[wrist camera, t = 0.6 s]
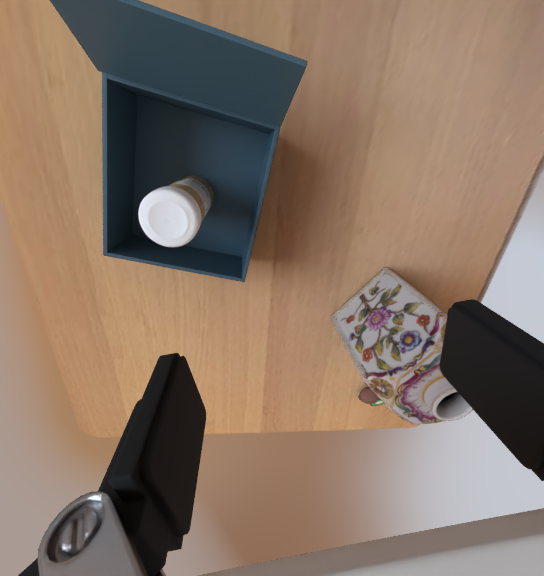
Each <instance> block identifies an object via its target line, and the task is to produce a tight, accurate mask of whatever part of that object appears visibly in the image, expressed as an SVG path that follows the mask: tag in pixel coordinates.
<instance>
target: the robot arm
mask: <svg viewBox="0 0 544 576" xmlns="http://www.w3.org/2000/svg"><path fill="white" fill-rule="evenodd" d="M440 371H441V373H442V375H443V376H444V377H445V378H446V379H447V380H448V382H449V383H450V384H451V385H452V386H453V387H454V388H455V389H456V391H457V392H458V393H459V394H460V395H461V396H462V397H463V398H464V400H465V401H466V402H467V403H468V404H469V405H470V406H471V407H472V409H473V410H474V411H475V412H476V413H477V414H478V415H479V416H480V418H481V419H482V420H483V421H484V422H485V423H486V424H487V425H488V427H489V428H490V429H491V430H492V431H493V432H494V433H495V434H496V436H497V437H498V438H499V439H500V440H501V441H502V442H503V443H504V445H505V446H506V447H507V448H508V449H509V450H510V451H511V453H513V455H514V456H515V457H516V458H517V459H518V460H519V461H520V463H521V464H522V465H523V466H525V467H526V468H528V469H532V471H533V472H534V473H535V474H536V475H537V476H538V477H539V478H540V479H541V481H544V343H542V342H540V341H539V340H537V339H536V338H534V337H533V336H531V335H529V334H528V333H526V332H524V331H523V330H522V329H520V328H518V327H517V326H515V325H514V324H512V323H511V322H509V321H508V320H506V319H504V318H503V317H501V316H500V315H498V314H497V313H495V312H493V311H492V310H490V309H489V308H487V307H486V306H484V305H483V304H481V303H479V302H478V301H476V300H466V301H460V302H456V303H454V304H453V305H452V307H451V308H450V309H449V310H448V315H447V322H446V328H445V334H444V340H443V346H442V352H441V359H440ZM205 422H206V410H205V407H204V404H203V402H202V399H201V397H200V394H199V391H198V389H197V386H196V384H195V381H194V378H193V376H192V373H191V371H190V368H189V366H188V363H187V360H186V358H185V357H184V356H181V357H180V355H179V354H178V353H174V354H168V355H163V356H160V357H159V359H158V361H157V364H156V366H155V368H154V371H153V373H152V376H151V378H150V380H149V383H148V385H147V388H146V390H145V392H144V395H143V397H142V399H140V400H139V401H138V402H137V404H136V405H135V407H134V409H133V412H132V414H131V416H130V419H129V421H128V423H127V426H126V428H125V430H124V433H123V435H122V437H121V439H120V442H119V444H118V446H117V449H116V451H115V453H114V456H113V458H112V460H111V463H110V465H109V467H108V469H107V472H106V474H105V476H104V479H103V481H102V483H101V486H100V488H99V490H98V491H97V492H90V493H87V494H85V495H82V496H80V497H79V498H77V499H76V500H74V501H73V502H71V503H70V504H69V505H68V506H66V507H65V508H64V509H63V510H62V511H61V512H60V513H59V514H58V515H57V517H56V518H55V519H54V520H53V521H52V523H51V524H50V525H49V527H48V529H47V531H46V532H45V534H44V536H43V538H42V540H41V543H40V546H39V549H38V558H37V559H36V560H35V561H34V562H33V563H32V564H31V565H29V566H28V567H27V568H26V569H25V570H24V571H23V572H22V573H21V574H19V576H166V575H165V573H164V571H163V569H162V568H163V566H164V565H165V562H166V557H167V552H168V551H173V550H178V549H181V547H182V541H183V535H185V534H188V532H189V530H190V525H191V518H192V511H193V505H194V498H195V491H196V484H197V477H198V470H199V464H200V457H201V450H202V443H203V436H204V429H205ZM199 576H544V508H543V509H538V510H532V511H527V512H522V513H516V514H511V515H505V516H500V517H494V518H489V519H483V520H478V521H473V522H468V523H462V524H457V525H452V526H446V527H441V528H436V529H430V530H425V531H420V532H415V533H409V534H404V535H399V536H393V537H388V538H383V539H378V540H372V541H368V542H362V543H357V544H352V545H347V546H342V547H336V548H331V549H326V550H321V551H316V552H311V553H306V554H300V555H295V556H290V557H285V558H280V559H275V560H270V561H265V562H260V563H254V564H250V565H246V566H241V567H236V568H232V569H227V570H222V571H218V572H213V573H208V574H204V575H199Z"/></svg>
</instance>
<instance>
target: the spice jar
mask: <svg viewBox="0 0 544 576" xmlns="http://www.w3.org/2000/svg"><path fill="white" fill-rule="evenodd" d="M213 201H214V193H213V190H212V188H211V186H210V185H209V183H208V182H207V181H206V180H204V179H203V178H201V177H198V176H186V177H185V178H183V179H181V180H180V181H176V182H174V183H172V184H171V185H169V186H165V187H161V188H158V189H156V190H154V191H152V192H150V193H149V194H148V195H146V196H145V197H144V199H143V200H142V202H141V204H140V207H139V212H138V216H139V222H140V225H141V227H142V229H143V231H144V232H145V234H146V235H147V236H148V237H149V238H150V239H151V240H153V241H154V242H156V243H157V244H160V245H162V246H166V247H180V246H183V245H185V244H187V243H188V242H190V241H191V240H192V239H193V238H194V236H195V235H196V233H197V232H198V230H199V228H200V225H201V222H202V221H203V219H204V217H205V216H206V214H207V212H208V211H209V209H210V208H211V207H212V205H213Z"/></svg>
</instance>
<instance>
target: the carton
mask: <svg viewBox="0 0 544 576" xmlns="http://www.w3.org/2000/svg"><path fill="white" fill-rule="evenodd" d="M279 130H280V126H277V125H274V124H271V123H267V122H264V121H261V120H258V119H254V118H251V117H248V116H245V115H241V114H238V113H235V112H231V111H228V110H225V109H222V108H218V107H215V106H212V105H209V104H205V103H202V102H199V101H195V100H192V99H189V98H186V97H182V96H179V95H176V94H173V93H169V92H166V91H163V90H159V89H156V88H153V87H150V86H146V85H143V84H140V83H137V82H133V81H130V80H127V79H124V78H120V77H117V76H114V75H110V74H107V73H104V72H102V140H103V255H104V256H110V257H115V258H120V259H125V260H131V261H136V262H141V263H146V264H152V265H157V266H162V267H167V268H173V269H178V270H183V271H188V272H194V273H199V274H204V275H209V276H215V277H220V278H225V279H230V280H236V281H241V282H245V277H246V273H247V269H248V265H249V260H250V256H251V252H252V247H253V243H254V239H255V234H256V230H257V226H258V221H259V217H260V213H261V208H262V204H263V200H264V195H265V191H266V187H267V182H268V178H269V174H270V169H271V165H272V161H273V156H274V152H275V148H276V143H277V139H278V135H279ZM186 176H198V177H201V178H203V179H204V180H206V181H207V182H208V183H209V185H210V186H211V188H212V190H213V193H214V201H213V205H212V207H211V208H210V209H209V211H208V212H207V214H206V216H205V217H204V219H203V221H202V222H201V225H200V228H199V230H198V232H197V233H196V235H195V236H194V238H193V239H192V240H191V241H190V242H188V243H187V244H185V245H183V246H180V247H166V246H162V245H160V244H157V243H156V242H154V241H153V240H151V239H150V238H149V237H148V236H147V235H146V234H145V232H144V231H143V229H142V227H141V225H140V222H139V216H138V212H139V207H140V204H141V202H142V200H143V199H144V197H145V196H146V195H148V194H149V193H150V192H152V191H154V190H156V189H158V188H161V187H165V186H169V185H171V184H172V183H174V182H176V181H180V180H181V179H183V178H185V177H186Z"/></svg>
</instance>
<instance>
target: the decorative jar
mask: <svg viewBox="0 0 544 576" xmlns="http://www.w3.org/2000/svg"><path fill="white" fill-rule="evenodd" d="M447 315H448V314H447V313H444V312H443V311H442V310H441V309H439V308H438V307H437V306H436V305H435V304H433V303H432V302H431V301H430V300H429V299H427V298H426V297H425V296H424V295H423V294H421V293H420V292H419V291H418V290H416V289H415V288H414V287H413V286H411V285H410V284H409V283H407V282H406V281H405V280H404V279H402V278H401V277H400V276H398V275H397V274H396V273H395V272H393V271H392V270H390V269H389V268H387V267H385V268H384V269H383V270H382V271H381V272H380V273H378V274H377V276H375V277H374V278H373V279H372V280H371V281H370V282H368V283H367V284H366V285H365V286H364V287H363V288H362V289H361V290H360V291H359V292H357V293H356V294H355V295H354V296H353V297H352V298H350V299H349V300H348V301H347V302H346V303H345V304H344V305H343V306H342V307H341V308H340V309H339V310H338V311H337V312H335V313H334V314H333V315H332V316H331V319H332V321H333V324H334V326H335V328H336V330H337V332H338V334H339V336H340V338H341V340H342V342H343V344H344V346H345V348H346V349H347V351H348V353H349V355H350V357H351V359H352V361H353V362H354V364H355V366H356V368H357V370H358V371H359V373H360V375H361V376H362V379H363V381H364V383H365V384H366V385H367V386H368V387H369V388H370V389H371V390H372V392H373V393H374V394H375V395H376V396H378V397H379V398H380V399H381V400H382V401H383V402H384V404H385V405H386V406H387V407H389V409H390V410H392V411H393V412H394V413H395V414H397V415H398V416H399V417H401V418H402V419H403V420H405V421H407V422H409V423H411V424H427V423H437V422H441V421H450V420H457V419H460V418H462V417H464V416H466V415H467V414H469V413H470V412H471V411H472V410H473V409H472V407H471V406H470V405H469V404H468V403H467V402H466V401H465V400H464V398H463V397H462V396H461V395H460V394H459V393H458V392H457V391H456V389H455V388H454V387H453V386H452V385H451V384H450V383H449V382H448V380H447V379H446V378H445V377H444V376H443V375H442V373H441V371H440V359H441V352H442V346H443V340H444V334H445V328H446V322H447Z"/></svg>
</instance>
